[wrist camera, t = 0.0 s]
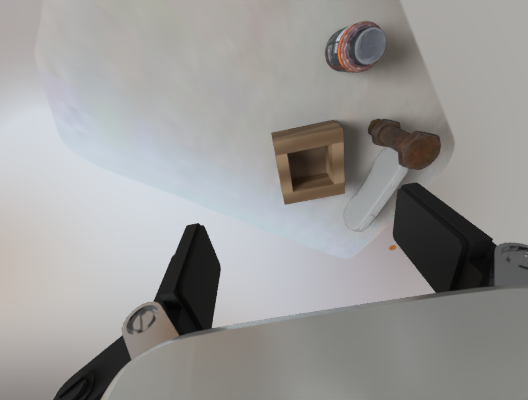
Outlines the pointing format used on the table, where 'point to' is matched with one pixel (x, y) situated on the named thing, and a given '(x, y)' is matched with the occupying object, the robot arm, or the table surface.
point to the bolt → (406, 143)
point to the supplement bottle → (355, 47)
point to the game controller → (374, 191)
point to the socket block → (310, 161)
